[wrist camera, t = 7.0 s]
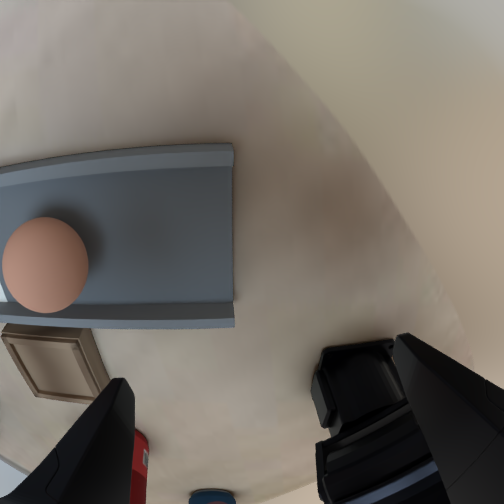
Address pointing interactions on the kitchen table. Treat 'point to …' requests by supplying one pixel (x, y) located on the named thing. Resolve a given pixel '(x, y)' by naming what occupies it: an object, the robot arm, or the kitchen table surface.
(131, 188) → the lane
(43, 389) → the square wooden tray
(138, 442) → the canned food
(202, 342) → the kitchen table surface
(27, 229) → the ball
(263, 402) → the kitchen table surface
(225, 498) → the soda can
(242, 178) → the kitchen table surface
